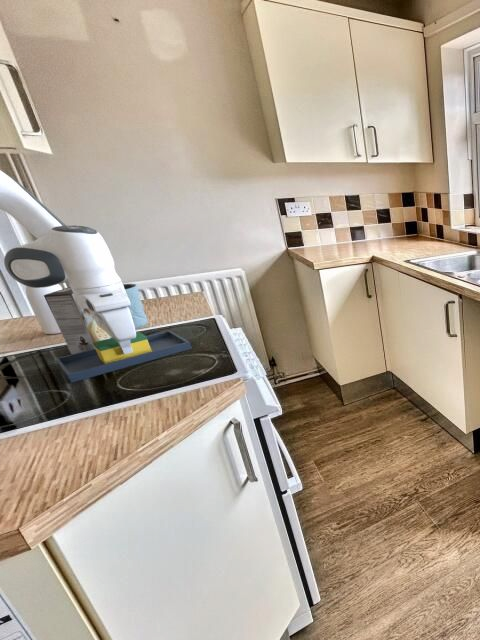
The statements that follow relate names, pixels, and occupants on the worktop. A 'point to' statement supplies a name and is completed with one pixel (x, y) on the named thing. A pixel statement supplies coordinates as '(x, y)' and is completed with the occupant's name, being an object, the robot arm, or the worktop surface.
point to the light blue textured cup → (135, 305)
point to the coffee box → (74, 321)
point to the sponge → (112, 351)
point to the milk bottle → (43, 307)
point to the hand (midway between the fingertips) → (124, 349)
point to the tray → (91, 364)
